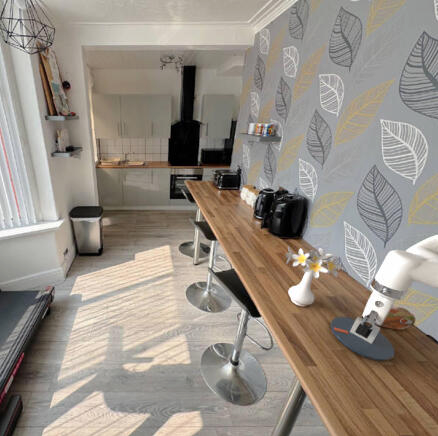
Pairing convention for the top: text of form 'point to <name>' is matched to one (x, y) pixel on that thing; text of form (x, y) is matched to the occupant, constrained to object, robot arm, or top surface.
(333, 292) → the top surface
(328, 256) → the flower vase
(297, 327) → the top surface
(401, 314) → the tin
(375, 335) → the rotary dial knob
